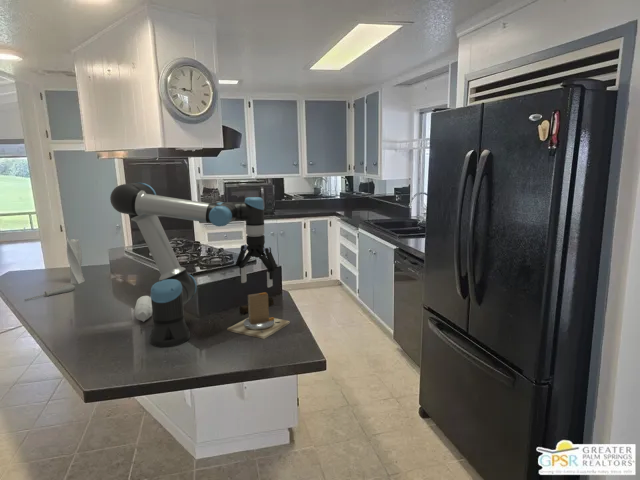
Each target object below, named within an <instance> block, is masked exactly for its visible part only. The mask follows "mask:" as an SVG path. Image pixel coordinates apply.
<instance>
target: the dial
mask: <svg viewBox="0 0 640 480" xmlns="http://www.w3.org/2000/svg"><path fill="white" fill-rule="evenodd" d="M268 297H269V294H268V292H266V291H265V292H258V293H252V294H247V305H248V311H249V312H248V317H247V318H248V319H247V318H245V319H246V320H245V319H244V320H245V321H244V327H245V328H247V329H251V330H262V329H267V328H270V327H272V326H273V325H274V318H275V317H274V316H273V317H270V313H269V310H270V309H269V308H270V306H268Z"/></svg>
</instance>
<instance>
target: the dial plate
mask: <svg viewBox="0 0 640 480" xmlns="http://www.w3.org/2000/svg"><path fill="white" fill-rule="evenodd" d="M248 318H249V317H247V318H245V319H243V320H241V321H239V322H237V323H236V324H234V325H232V326H229V327H227V329H226V331H228V332H231V333H236V334H240V335H243V336H244V335H245V336H249V337H253V338H257V339H262V340H265V339H267V338H268V337H270V336H271V335H273V334H275V333H277V332H278V331H280V330H281V329H283V328H285V327H286V326H288V325H289V324H290V323H291V322H290V320H286V319H280V318H277V317H274V325H273V326H272V327H270V328H267V329H262V330H251V329H247V328H245V327H244V321H245V320H246V319H248Z"/></svg>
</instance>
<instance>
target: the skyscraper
mask: <svg viewBox="0 0 640 480" xmlns="http://www.w3.org/2000/svg"><path fill="white" fill-rule="evenodd" d="M66 257H67V262H68V264H69V267H70V285H74V284H75V285H79V284H82V283H84V282H86V280H85V277H84V274H83V270H82V262H83V261H82V260H83V253H82V248H81V243H80V240H79V238H77V239H74V238H73V239H69V238H68V236H67V237H66Z"/></svg>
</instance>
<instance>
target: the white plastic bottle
mask: <svg viewBox="0 0 640 480" xmlns="http://www.w3.org/2000/svg"><path fill="white" fill-rule="evenodd" d="M133 314H134V317H135V319H136V320H138V321H142V323H144V322H145V321H147V320H149V319H150V318H151V317H153V313H152V303H151V296H150V295H143V296H140V297H138V299H137V300H136V304H135V307H134V309H133Z"/></svg>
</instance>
